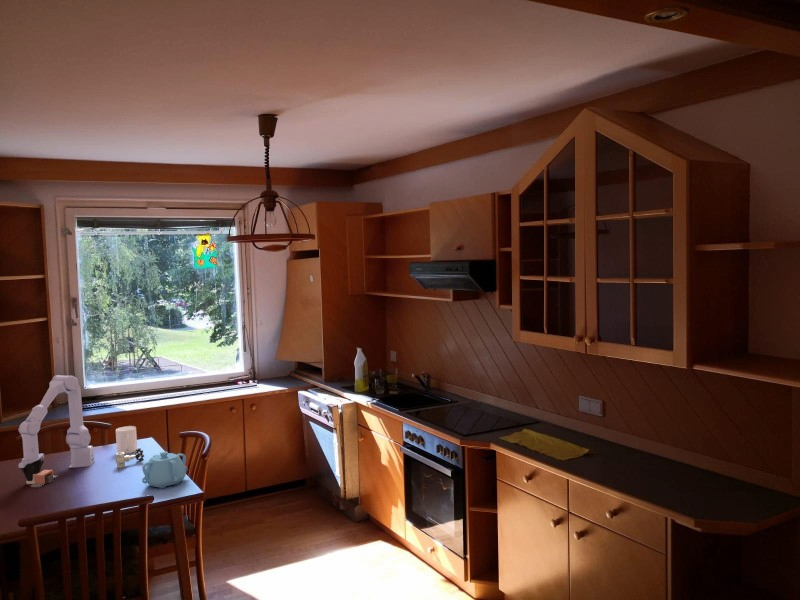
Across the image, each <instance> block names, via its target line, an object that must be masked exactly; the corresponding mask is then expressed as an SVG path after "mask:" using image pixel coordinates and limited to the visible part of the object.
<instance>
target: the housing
mask: <svg viewBox="0 0 800 600" xmlns="http://www.w3.org/2000/svg"><path fill="white" fill-rule="evenodd" d="M47 475H53V479H54V478H55V479H57V478H58V475H54V469H43V470H42V471H41V470H40V472H39V473H38V474H36V475H34V477H35V483H34V484H30V488H41V487H43V486H44V484H45V485H46V483H45V476H47ZM56 477H57V478H56ZM55 479H54V480H55ZM42 485H43V486H42Z"/></svg>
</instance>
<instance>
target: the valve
mask: <svg viewBox="0 0 800 600" xmlns="http://www.w3.org/2000/svg"><path fill="white" fill-rule="evenodd" d="M115 456H116V457H115V463H116V469H123V468H125V467H126V463H128V462H130V460H134V459H136V460H137V461H138V462H139V463H140V462H144V457H145V455H144V450H143V449H142V448H141V447H137V449H136V451H135V452H134V454H131V455H129V454H124V452H119V453H117V452H116V454H115ZM122 467H123V468H122Z"/></svg>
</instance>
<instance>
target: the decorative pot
mask: <svg viewBox="0 0 800 600" xmlns="http://www.w3.org/2000/svg"><path fill="white" fill-rule="evenodd" d="M180 457H182V459H181V458H180ZM186 461H187V457H186V455H185V454H184V453H177V454H176V453H172V452H170V453H169V452H168V451H161V452H160V453H159V454H154V455H152V457H150V458H149V460H148V461H147V462H144V463H143V465H142V468H141V469H142V472H143V473H142V474H143V475H144V477H142V480H141V482H142V484H147V485H149V486H152V487H154V488H159V489H160V488H162V489H165V488H166V487H167V486H172V485H179V484H180V483H181V482H182V481H184V479H185V477H186V474H187V473H186V472H187V471H188V467H187V466H186Z"/></svg>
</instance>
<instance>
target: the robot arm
mask: <svg viewBox="0 0 800 600" xmlns="http://www.w3.org/2000/svg"><path fill="white" fill-rule="evenodd" d="M48 384H49V385H48V386H49V388H48V389H47V391H46V393H45V394H44V395H43V397H42V400H41V401H40V403H39V404H37V405H35V406H34V407H32V409H31V412H30V413H29V415H28V416H27V417H26V419H25V420H24V421H23V422H21V423H20V425H19V428H18V429H17V430H18V432H19V434H20V436H21V438H22V450H23V451H22V452H23V458H22V459H21V461H20V462H19V463H18V469H20V470H21V471H22V473H23V474H24V477H25V479H27V481H32V480H33V474H38V473H39V472H41V469H42V466H43V464H44V459H45V453H39V441H38V440H39V439H38V433H39V431H40V430H41V424H42V421H43V420H44V419H45V417H46V416H47V414H48V408H49V406H50V405H51V403H52V402H53V401H54V400H55V398H56V397H57V396H58V395H59V394H63V393H65V394H67V400H68V410H69V412H68V413H69V425H70V427H69V428H68V429H67V430H66V432H67V434H66V437H65V442H66V444H67V445H68V447H69V448H70V460H71V461H70V462H71V464H70V465H69V466H68V468H69V469H72V468H74V469H75V468H83V467H91V466H92V465H93V464H94V463H95V461H96V460H95V452H94V451H95V450H94V446H93V445H89V444H90V443H91V440H92V439H91V434H90V433H89V432H90V431H89V429H88V428H87V427H86V426H85V425H84V416H83V415H84V414H83V402H82V401H83V400H82V388H81V385H80V384H79V379H78V377H75V376H74V375H60V374H56V375H54V376H53V377H52V379H51V380H50V382H49V383H48ZM27 481H26V482H27Z"/></svg>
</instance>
